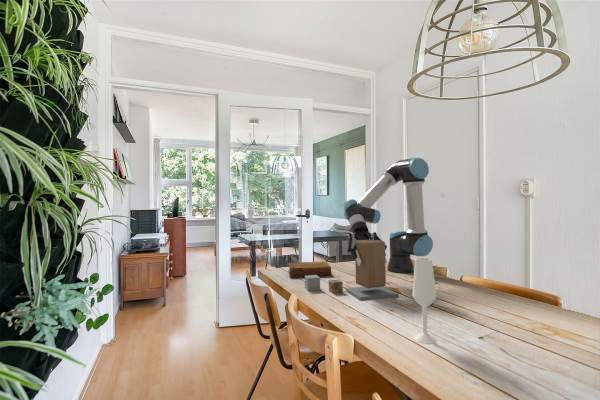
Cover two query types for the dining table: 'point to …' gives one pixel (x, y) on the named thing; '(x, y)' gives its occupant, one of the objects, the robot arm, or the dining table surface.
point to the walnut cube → (335, 286)
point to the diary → (309, 269)
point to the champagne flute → (424, 293)
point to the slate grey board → (371, 292)
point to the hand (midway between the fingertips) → (372, 263)
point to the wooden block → (371, 263)
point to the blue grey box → (312, 282)
